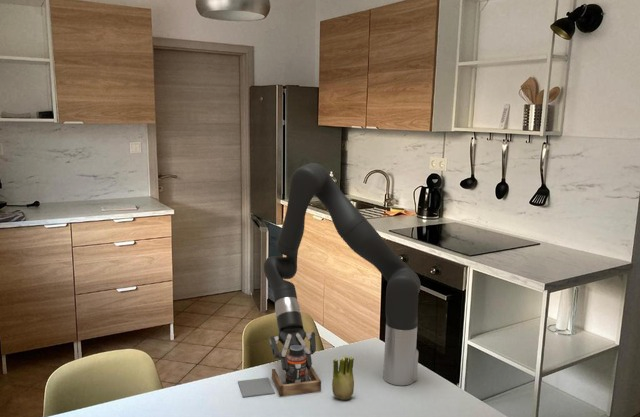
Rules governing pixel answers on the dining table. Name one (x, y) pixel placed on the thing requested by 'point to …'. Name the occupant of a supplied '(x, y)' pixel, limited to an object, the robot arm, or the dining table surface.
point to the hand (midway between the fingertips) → (297, 369)
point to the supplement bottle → (296, 365)
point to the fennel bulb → (343, 378)
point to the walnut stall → (297, 384)
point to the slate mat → (256, 387)
